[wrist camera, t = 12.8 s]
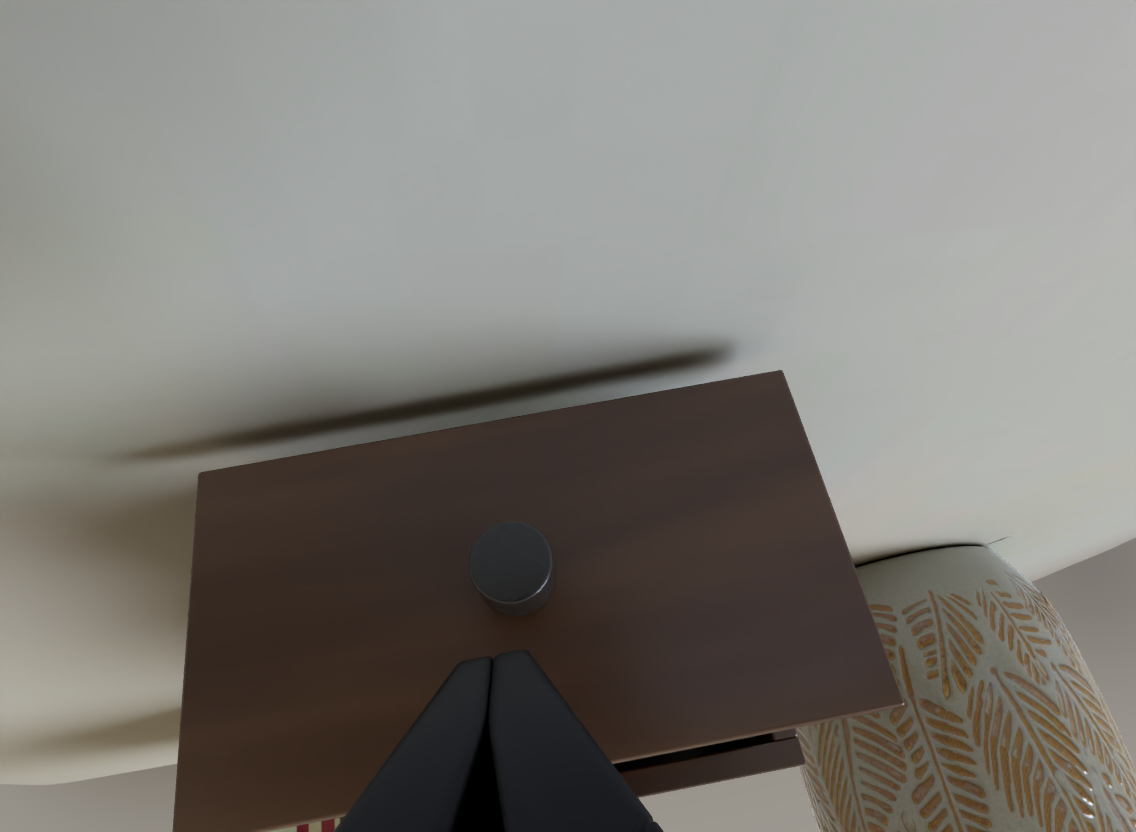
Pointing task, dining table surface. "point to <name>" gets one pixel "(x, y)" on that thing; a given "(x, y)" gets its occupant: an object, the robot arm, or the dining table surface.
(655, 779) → the cabinet
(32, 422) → the dining table surface
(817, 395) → the dining table surface
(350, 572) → the drawer
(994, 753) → the vase
